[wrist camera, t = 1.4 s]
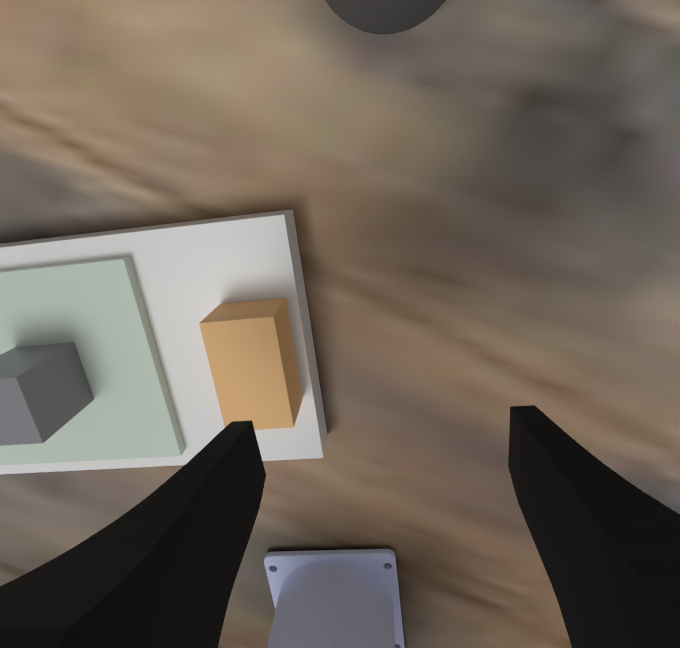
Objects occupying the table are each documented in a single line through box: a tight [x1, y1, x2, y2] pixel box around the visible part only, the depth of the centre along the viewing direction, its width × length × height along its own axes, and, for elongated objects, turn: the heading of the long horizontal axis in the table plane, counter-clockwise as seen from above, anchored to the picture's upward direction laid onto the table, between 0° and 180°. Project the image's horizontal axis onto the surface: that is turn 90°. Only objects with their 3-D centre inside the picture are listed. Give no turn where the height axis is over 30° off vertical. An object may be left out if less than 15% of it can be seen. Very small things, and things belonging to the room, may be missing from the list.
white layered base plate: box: [0, 209, 328, 474], centre depth 22 cm, size 18×12×2 cm, turn 97°
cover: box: [0, 256, 186, 465], centre depth 20 cm, size 10×10×4 cm
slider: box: [199, 298, 303, 430], centre depth 19 cm, size 3×5×2 cm, turn 7°
